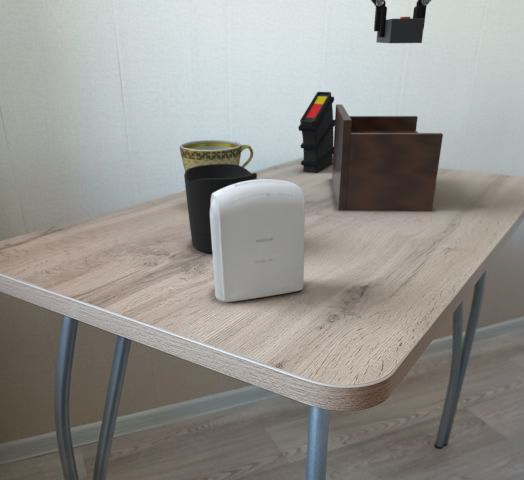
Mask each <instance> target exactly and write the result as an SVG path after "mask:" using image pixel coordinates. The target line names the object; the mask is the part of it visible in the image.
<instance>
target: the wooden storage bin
mask: <svg viewBox="0 0 524 480" xmlns="http://www.w3.org/2000/svg"><path fill="white" fill-rule="evenodd" d="M334 120H335V126H334V130H333V136H334V137H333V147H334V149H333V163H332V169H331V171H332V172H331V182H332V187H333V193H334V197H335V201H336V202H335V203H336V206H337V211H341V212H342V211H343V212H345V211H348V212H349V211H351V212H354V211H355V212H432V211H433V206H434V199H435V191H436V187H437V186H436V185H437V179H438V171H439V167H440V166H439V165H440V159H441V153H442V152H441V150H442V143H443V138H444V134H443V132H418V131H417V127H418V125H417V124H418V116H417V115H349V113H348V111H347V110H346V108H345V107H344V105H343V104H341V103H340V104H335V115H334Z"/></svg>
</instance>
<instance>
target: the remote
mask: <svg viewBox="0 0 524 480" xmlns="http://www.w3.org/2000/svg"><path fill="white" fill-rule="evenodd" d="M423 28H424V29H425V23H424V18H413V17H412V18H411V16H400V18H388V19H386V24H385V35H384V36H383V37H377V35H378V31H376V43H379V44H422V42H423V34H424V30H423Z"/></svg>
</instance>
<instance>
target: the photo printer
mask: <svg viewBox="0 0 524 480" xmlns="http://www.w3.org/2000/svg"><path fill="white" fill-rule="evenodd" d="M305 202H306V201H305V195H304V191H303V188H302V187H301V186H299V185H298V184H296V183H293V182H290V181H286V180H282V179H274V178H271V179H270V178H259V179H258V178H257V180H248V181H243V182H239V183H235V184H232V185H229V186H227V187H224V188H222V189H220V190H218V191H216V192H214V193H212V195H211V207H210V225H211V240H212V254H211V255H212V267H213V281H214V294H215V298H216V299H217V300H218V301H220V302H222V303H223V302H224V303H233V302H240V301H247V300H253V299H260V298H266V297H272V296H277V295H278V296H279V295H284V294H289V293H294V292H299V291H301V290H303V288H304V282H305V281H304V280H305V232H306V231H305V228H306V227H305V225H306V224H305V223H306V203H305Z"/></svg>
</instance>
